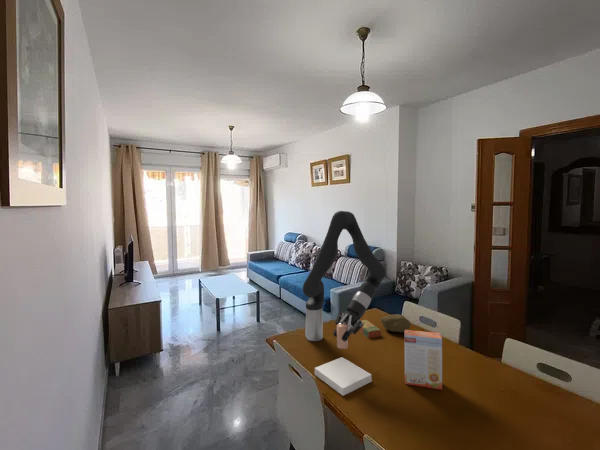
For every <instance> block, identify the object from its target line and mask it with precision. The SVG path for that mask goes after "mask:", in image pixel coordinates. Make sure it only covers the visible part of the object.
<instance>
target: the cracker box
mask: <svg viewBox="0 0 600 450" xmlns="http://www.w3.org/2000/svg"><path fill="white" fill-rule="evenodd" d="M404 384H405V385H409V386H416V387H421V388H429V389H435V390H443V338H442V335H441V333H440V332H432V331H431V332H430V331H422V330H411V329H409V330H405V332H404Z"/></svg>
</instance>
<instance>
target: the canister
mask: <svg viewBox="0 0 600 450" xmlns="http://www.w3.org/2000/svg"><path fill="white" fill-rule="evenodd" d="M336 327H337V337H336V347H337V348H338V349H340V350H344V349H345V350H346V349H347V348H348V347H349V338H348V339H347V340H346V341H343V340H342V336H343V335H344V333H345V332H346V331H347V327H348V325H347V324H343V323H340V324H337V325H336Z"/></svg>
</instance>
